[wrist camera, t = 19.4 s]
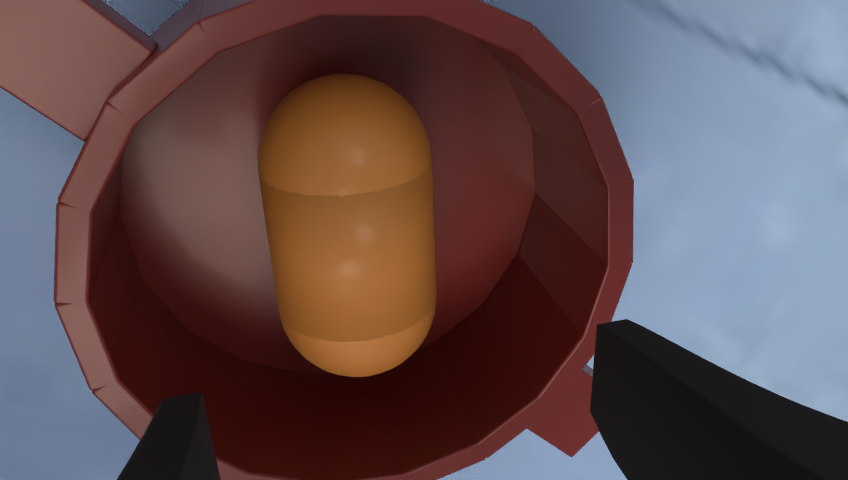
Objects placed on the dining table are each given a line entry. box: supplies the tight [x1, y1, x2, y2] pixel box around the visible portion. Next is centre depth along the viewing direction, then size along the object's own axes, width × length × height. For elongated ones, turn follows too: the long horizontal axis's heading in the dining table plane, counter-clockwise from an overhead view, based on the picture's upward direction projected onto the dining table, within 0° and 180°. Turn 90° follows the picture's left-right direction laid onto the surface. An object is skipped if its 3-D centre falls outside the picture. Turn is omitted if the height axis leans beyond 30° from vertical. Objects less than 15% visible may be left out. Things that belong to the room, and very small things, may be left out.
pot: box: [0, 0, 634, 480], centre depth 19 cm, size 13×19×5 cm
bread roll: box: [257, 73, 437, 377], centre depth 20 cm, size 8×4×4 cm, turn 3°
